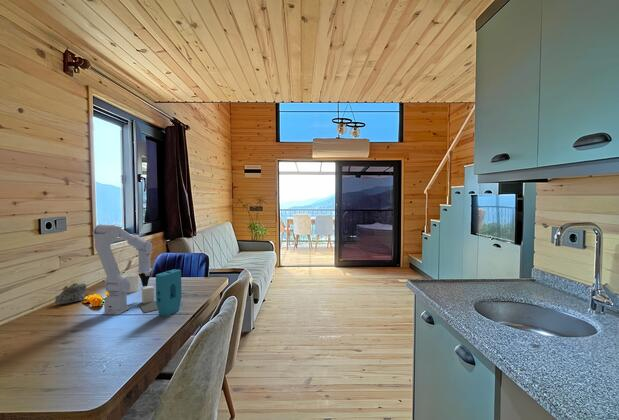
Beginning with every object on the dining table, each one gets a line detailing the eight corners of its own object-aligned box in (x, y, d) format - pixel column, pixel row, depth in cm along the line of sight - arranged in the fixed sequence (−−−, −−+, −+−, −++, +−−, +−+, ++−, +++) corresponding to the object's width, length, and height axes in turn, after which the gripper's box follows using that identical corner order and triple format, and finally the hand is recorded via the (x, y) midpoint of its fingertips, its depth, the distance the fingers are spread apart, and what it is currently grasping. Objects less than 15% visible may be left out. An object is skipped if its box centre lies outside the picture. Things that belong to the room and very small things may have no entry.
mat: (166, 308, 150) (166, 307, 150) (144, 313, 144) (144, 312, 144) (159, 300, 161) (159, 300, 161) (138, 305, 154) (138, 304, 154)
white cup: (134, 293, 174) (134, 276, 173) (121, 293, 174) (121, 276, 174) (142, 289, 182) (142, 273, 181) (130, 289, 182) (129, 273, 181)
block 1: (153, 301, 159) (153, 287, 159) (143, 303, 156) (143, 289, 156) (152, 299, 162) (151, 285, 162) (141, 301, 159) (141, 287, 159)
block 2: (163, 317, 138) (162, 275, 137) (155, 316, 140) (154, 274, 139) (182, 308, 149) (182, 270, 148) (175, 307, 151) (174, 269, 150)
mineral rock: (54, 307, 152) (53, 287, 151) (60, 300, 161) (60, 282, 161) (84, 303, 157) (84, 284, 157) (89, 297, 167) (89, 279, 167)
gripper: (155, 263, 161) (156, 287, 161) (149, 259, 171) (149, 281, 172) (141, 265, 156) (141, 290, 156) (135, 260, 167) (136, 284, 167)
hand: (145, 286), depth 164 cm, fingers closed
